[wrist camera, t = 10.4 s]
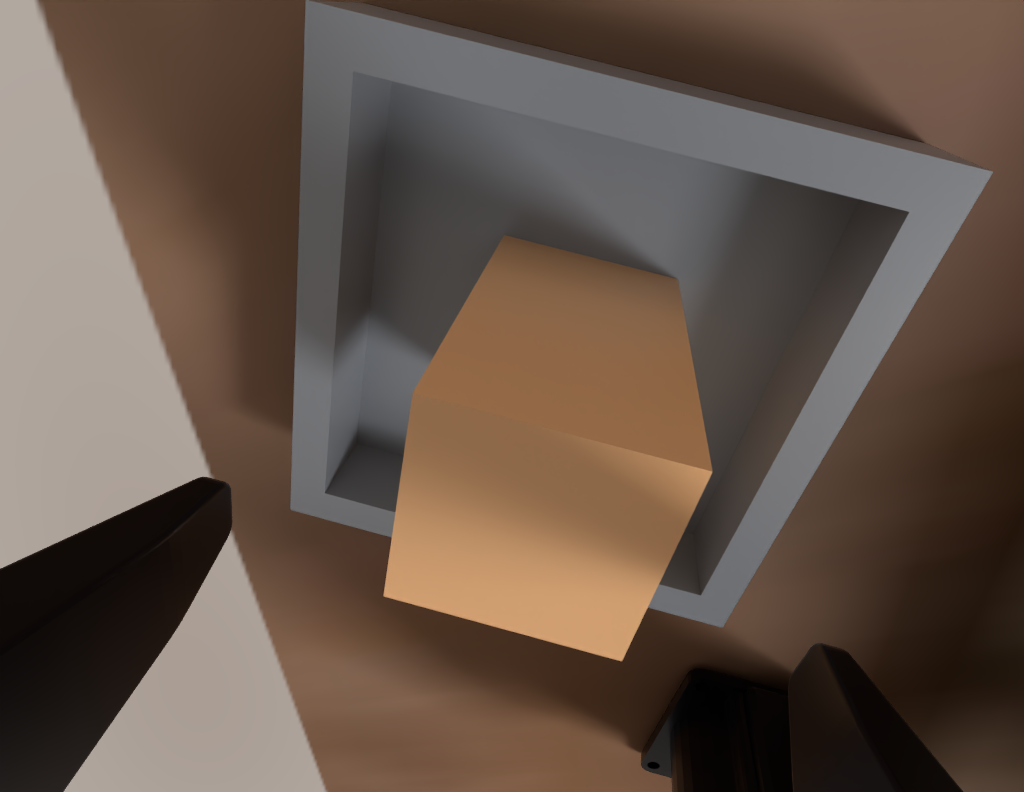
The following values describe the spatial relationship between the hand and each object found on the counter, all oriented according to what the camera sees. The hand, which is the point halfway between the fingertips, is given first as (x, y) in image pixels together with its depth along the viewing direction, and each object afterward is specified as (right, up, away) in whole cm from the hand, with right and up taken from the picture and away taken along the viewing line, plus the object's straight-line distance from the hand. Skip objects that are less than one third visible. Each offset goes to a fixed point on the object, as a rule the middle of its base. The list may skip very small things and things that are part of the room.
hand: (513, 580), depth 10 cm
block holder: (+2, +5, +8) cm, 10 cm away
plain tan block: (+1, +4, +8) cm, 9 cm away
